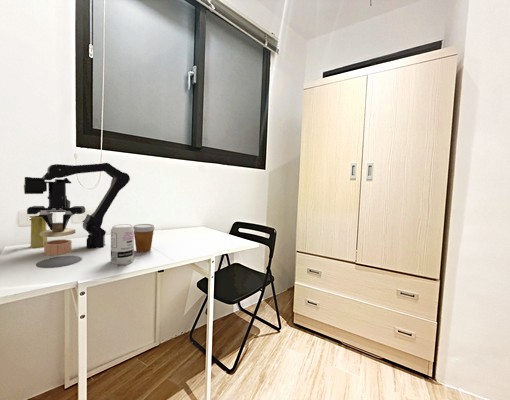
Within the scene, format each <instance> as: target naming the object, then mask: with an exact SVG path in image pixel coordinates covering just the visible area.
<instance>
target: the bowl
mask: <svg viewBox="0 0 510 400" xmlns="http://www.w3.org/2000/svg"><path fill="white" fill-rule="evenodd" d="M72 243H73V241H72V240H71V239H68V238H67V239H52V240H47V242H45V243H44V247H43V253H44V255H47V256H55V255H57V256H59V255H63V254H67V253H70V252H71V251H72V250H73V249H72V247H73V246H72Z"/></svg>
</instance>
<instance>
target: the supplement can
mask: <svg viewBox="0 0 510 400" xmlns="http://www.w3.org/2000/svg"><path fill="white" fill-rule="evenodd" d="M133 227H134V225H132V224H127V223H124V224H114V225H112V227H111V229H110V263H111V264H114V265H115V264H116V265H118V266H123V265H124V266H125V265H128V264H131V263H133V261H134V259H135V237H134V228H133Z"/></svg>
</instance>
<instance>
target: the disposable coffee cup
mask: <svg viewBox="0 0 510 400" xmlns="http://www.w3.org/2000/svg"><path fill="white" fill-rule="evenodd" d="M133 228H134V246H135V250H136V252H137V253H147V252H150V251H152V244H153V236H154V230H156V228H155V226H154V224H152V223H140V224H139V223H138V224H134V225H133Z"/></svg>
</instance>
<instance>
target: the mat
mask: <svg viewBox="0 0 510 400" xmlns="http://www.w3.org/2000/svg"><path fill="white" fill-rule="evenodd" d="M82 260H83V257H82V256H78V255H62V256H59V255H58V256H55V257H54V256H53V257H48V258H45V259H43V260H40V261H38V262H37V263H36V264H35V267H36V268H40V269H55V268H57V269H58V268H63V267H68V266H71V265H72V266H73V265H75V264H78V263H80V262H81V261H82Z"/></svg>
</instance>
